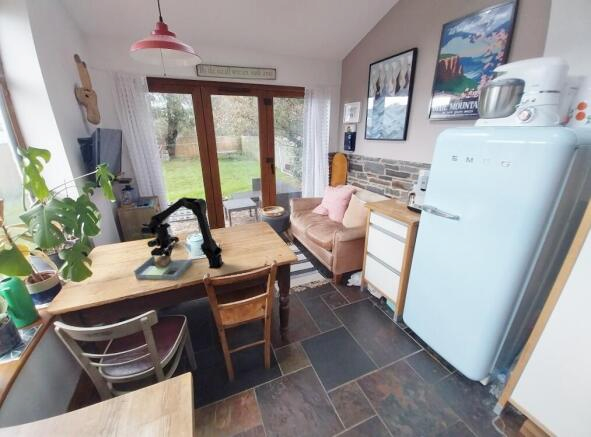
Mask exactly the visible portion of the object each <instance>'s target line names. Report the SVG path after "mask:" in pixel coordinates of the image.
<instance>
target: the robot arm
mask: <svg viewBox="0 0 591 437" xmlns="http://www.w3.org/2000/svg"><path fill="white" fill-rule="evenodd" d="M207 206H208V205H207V201H206V199H204V198H197V197H196V198H195V197H186V196H183V197H181V198H179V199H178V200H177V201H176V202H174V203H172V205H171V204H170V206H168V207H167V208H166V209H164V210H162V211H160V212H157V213H155V214H154V215H152V216H151V217H150V220H151V221H150V222H143V223H142V226H141V228H140V229H141V230H140V231H141V232H140V233H141V234H142V235H143V236H144V235H146V236H147V235H151V236H152V235H153V236H155V235H156V236H157V237H155V238H153V239H151V240H149V241H147V246H148V248H154V247H155V248H154V249H152V250H151V251H150V255H151V256H154V257H156V256H157V257H159V256H170V257H171V256H172V253H173V249H174V247H175V245H174V243H176V244H177V243H179V241H180V238H179V237H178V236H173V237H170V236H171V233H170V234H169V233H168V229H169V227H171V226H172V225H171V224H170V223H168V222H166V221H168V219H169V218H170V217H171V216H172V215H173V214H174V213H175V212H177V211H179V209H181V208H185V209H186V210H189V211H192V214H193V215H194V216H195V217H196V218H197V222H198V226H199V229H200V233H201V237H202V241H203V242H202V243H201V244H200V248H201V253H203V254H204V255H205V257H206V258H207V260H208V265H209V266H208V269H221V267H222V265H224V261H223V258H222V252H223V249H222V248H221V247H219V246H218V244H217V242H216V240H214V238H213V236H212V233H211V232H212V231H211V228H210V225H209V221H208V217H207V210H208V207H207ZM167 228H168V229H167ZM173 242H174V243H173ZM171 243H173V245H172V244H171Z"/></svg>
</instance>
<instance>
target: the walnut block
mask: <svg viewBox="0 0 591 437" xmlns="http://www.w3.org/2000/svg"><path fill="white" fill-rule="evenodd" d="M155 259H156V260H154V264H155V267H164V268H166V267H167V266H168V265H169V264H170V263H171V262H172V261H171V259H172V258H171V256H165V255H162V256H157V258H155Z"/></svg>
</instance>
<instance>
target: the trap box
mask: <svg viewBox="0 0 591 437" xmlns="http://www.w3.org/2000/svg"><path fill="white" fill-rule="evenodd" d="M156 259H157V258H155V256H152V255H151V256H149V258H147V259H146V260H145V261H144V262H143V263H142V264H140V265H139V266H137V267H136V268H135V269H134V270H133V271H134V275H135V278H136V279H139V280H140V279H145V280H148V279H149V280H178V279H179V278H180V277H181V276H182V274H184V272H185V271H186V270H187V269H188V268H189V266H190V265H191V264H192V261H191V259H173V258H171V261H172V262H171V263H170V264H169V265H168V266H167V267H166V268H164V267H155V264H154V260H156Z"/></svg>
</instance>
